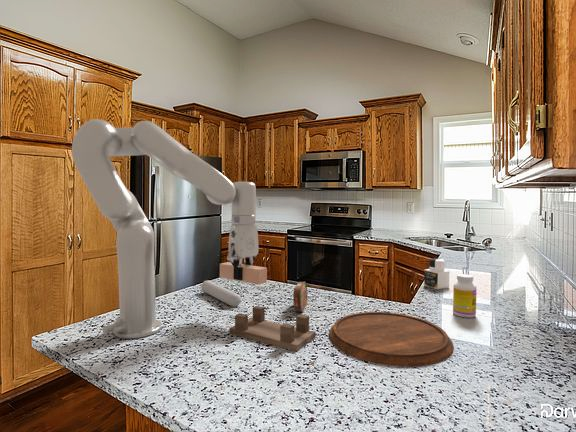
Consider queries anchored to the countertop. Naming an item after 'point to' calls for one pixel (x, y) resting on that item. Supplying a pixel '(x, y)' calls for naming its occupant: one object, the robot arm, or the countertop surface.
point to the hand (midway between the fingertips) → (242, 277)
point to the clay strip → (245, 273)
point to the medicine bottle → (436, 274)
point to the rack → (273, 330)
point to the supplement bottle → (464, 296)
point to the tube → (221, 293)
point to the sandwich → (300, 296)
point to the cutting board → (391, 339)
